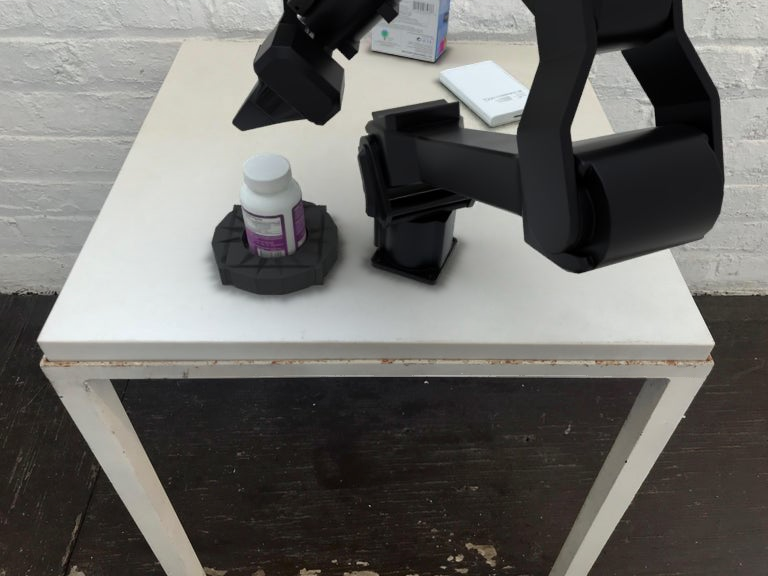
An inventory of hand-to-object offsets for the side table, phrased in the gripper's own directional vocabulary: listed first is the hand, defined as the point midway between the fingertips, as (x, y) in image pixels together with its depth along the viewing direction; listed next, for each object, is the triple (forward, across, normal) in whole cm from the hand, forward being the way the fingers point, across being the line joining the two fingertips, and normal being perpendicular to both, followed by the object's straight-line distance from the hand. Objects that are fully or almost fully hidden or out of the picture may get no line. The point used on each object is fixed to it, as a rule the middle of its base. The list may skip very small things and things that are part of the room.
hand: (248, 96), depth 52 cm
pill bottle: (+8, +4, +11) cm, 15 cm away
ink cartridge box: (0, -39, +20) cm, 44 cm away
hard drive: (-7, -26, +27) cm, 39 cm away
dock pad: (+8, +4, +11) cm, 14 cm away
